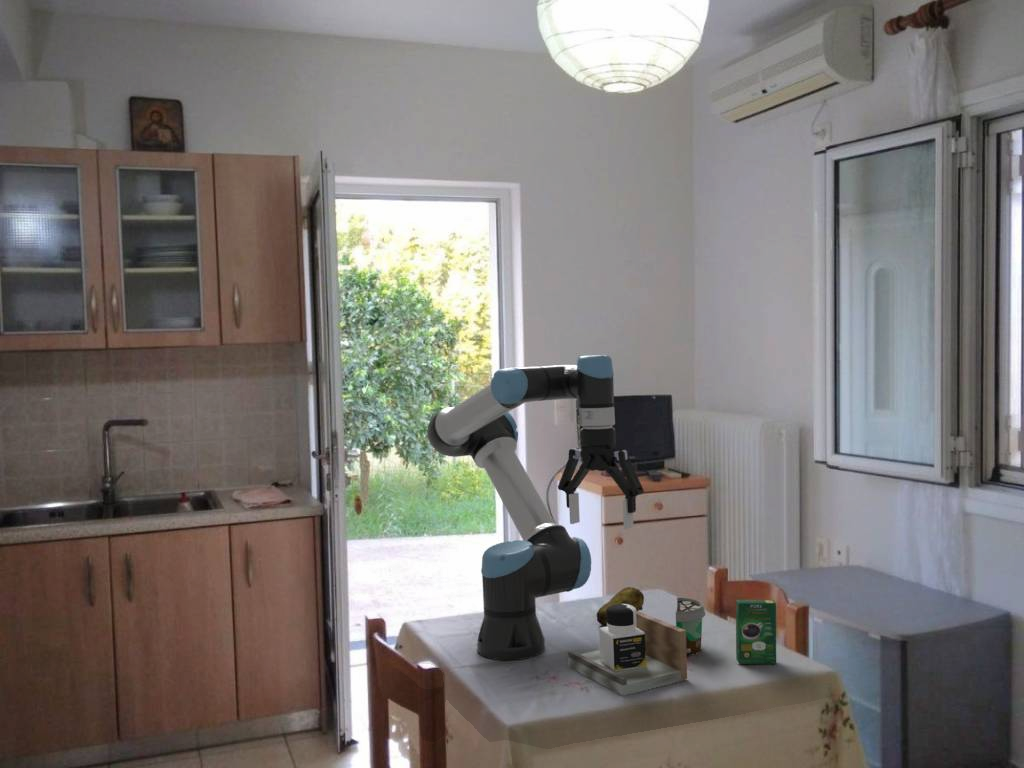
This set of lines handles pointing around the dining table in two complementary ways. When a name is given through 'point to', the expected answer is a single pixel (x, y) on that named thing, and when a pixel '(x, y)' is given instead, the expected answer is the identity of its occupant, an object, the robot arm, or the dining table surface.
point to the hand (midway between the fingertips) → (601, 525)
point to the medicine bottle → (622, 639)
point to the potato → (622, 602)
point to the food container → (690, 622)
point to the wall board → (661, 660)
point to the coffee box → (756, 631)
